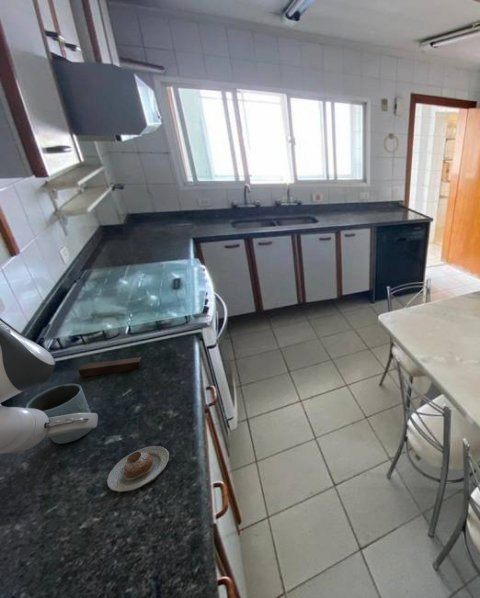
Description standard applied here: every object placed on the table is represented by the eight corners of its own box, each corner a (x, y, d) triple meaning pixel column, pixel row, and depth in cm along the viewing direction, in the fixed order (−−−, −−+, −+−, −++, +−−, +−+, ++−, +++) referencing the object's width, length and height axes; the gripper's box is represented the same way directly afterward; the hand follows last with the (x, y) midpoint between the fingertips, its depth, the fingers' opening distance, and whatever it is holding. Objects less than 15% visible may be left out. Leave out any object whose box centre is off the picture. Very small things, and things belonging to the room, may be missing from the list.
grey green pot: (103, 412, 94) (87, 379, 88) (91, 439, 85) (72, 404, 80) (57, 423, 90) (36, 389, 84) (39, 452, 81) (16, 417, 76)
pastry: (173, 443, 86) (168, 430, 84) (165, 482, 76) (159, 469, 74) (117, 458, 82) (110, 445, 79) (101, 502, 72) (93, 489, 70)
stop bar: (80, 377, 107) (77, 369, 105) (84, 371, 109) (81, 364, 108) (140, 369, 112) (138, 361, 111) (143, 364, 115) (140, 356, 114)
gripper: (81, 404, 73) (110, 408, 86) (-48, 425, 66) (4, 426, 78) (79, 433, 72) (109, 433, 84) (-55, 459, 64) (0, 454, 76)
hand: (57, 430), depth 81 cm, fingers closed
